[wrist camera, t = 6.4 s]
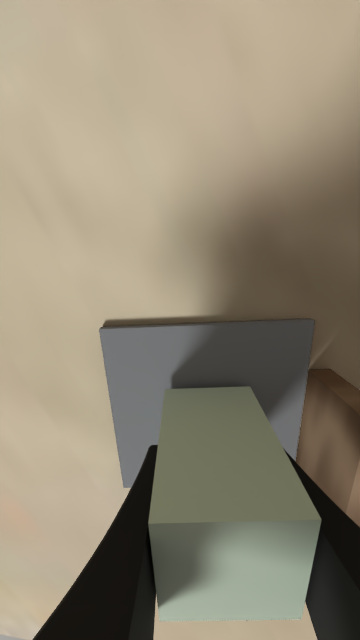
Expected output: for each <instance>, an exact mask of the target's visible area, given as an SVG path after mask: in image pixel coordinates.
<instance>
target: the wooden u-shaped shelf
mask: <svg viewBox="0 0 360 640" xmlns="http://www.w3.org/2000/svg"><path fill="white" fill-rule="evenodd" d="M296 463H297V464H298V465H299V466H300V467H301V468H302V469H303V470H304V472H305V473H306V474H307V475H308V476H309V477H310V478H311V479H312V480H313V481H314V482H315V483H316V484H317V485H318V486H319V487H320V488H321V489H322V491H323V492H324V493H325V494H326V495H327V496H328V497H329V498H330V499H331V500H332V501H333V502H334V503H335V504H336V505H337V506H338V507H339V508H340V509H341V510H342V511H343V512H344V513H345V514H347V515H348V516H349V517H350V518H351V519H352V520H353V521H354V522H355V523H356V524H357V525H358V526H359V527H360V391H359V390H358V389H356V388H355V387H354V386H352V385H351V384H350V383H348V382H347V381H346V380H344V379H343V378H342V377H340V376H339V375H338V374H336V373H335V372H334V371H332V370H331V369H317V370H309V372H308V379H307V386H306V393H305V400H304V407H303V414H302V421H301V428H300V436H299V443H298V450H297V457H296Z"/></svg>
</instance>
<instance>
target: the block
mask: <svg viewBox="0 0 360 640" xmlns="http://www.w3.org/2000/svg"><path fill="white" fill-rule="evenodd" d="M320 525H321V518H320V516H319V514H318V512H317V510H316V508H315V507H314V505H313V503H312V501H311V499H310V497H309V495H308V494H307V492H306V490H305V488H304V486H303V484H302V482H301V480H300V479H299V477H298V475H297V473H296V471H295V469H294V467H293V466H292V464H291V462H290V460H289V458H288V456H287V454H286V453H285V451H284V449H283V447H282V445H281V443H280V441H279V440H278V438H277V436H276V434H275V432H274V430H273V428H272V426H271V425H270V423H269V421H268V419H267V417H266V415H265V413H264V412H263V410H262V408H261V406H260V404H259V402H258V400H257V399H256V397H255V395H254V393H253V391H252V389H251V387H250V386H246V387H216V388H185V389H165V392H164V400H163V409H162V417H161V425H160V433H159V441H158V449H157V457H156V465H155V473H154V481H153V489H152V497H151V506H150V514H149V522H148V526H149V534H150V543H151V551H152V560H153V568H154V577H155V585H156V594H157V602H158V611H159V619H160V621H224V620H290V619H302V614H303V609H304V604H305V599H306V594H307V589H308V584H309V579H310V574H311V569H312V564H313V560H314V555H315V550H316V545H317V540H318V535H319V530H320Z"/></svg>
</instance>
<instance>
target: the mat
mask: <svg viewBox="0 0 360 640" xmlns="http://www.w3.org/2000/svg"><path fill="white" fill-rule="evenodd" d="M314 324H315V321H314V320H312V319H292V320H266V321H239V322H213V323H187V324H161V325H135V326H109V327H101V328H100V329H99V332H100V338H101V345H102V351H103V358H104V364H105V371H106V377H107V384H108V390H109V397H110V403H111V409H112V416H113V422H114V429H115V435H116V442H117V448H118V455H119V461H120V468H121V474H122V480H123V487H124V488H130V487H132V485H133V483H134V481H135V479H136V477H137V475H138V473H139V471H140V468H141V466H142V464H143V461H144V459H145V456H146V454H147V451H148V448H149V447H150V446H151V445H158V441H159V433H160V425H161V417H162V409H163V400H164V392H165V389H185V388H216V387H246V386H250V387H251V389H252V391H253V393H254V395H255V397H256V399H257V400H258V402H259V404H260V406H261V408H262V410H263V412H264V413H265V415H266V417H267V419H268V421H269V423H270V425H271V426H272V428H273V430H274V432H275V434H276V436H277V438H278V440H279V441H280V443H281V445H282V447H283V448H284V449H285V450H286V452H287V453H288V454H289V455H290V456H291V457H292V458H293V459H294V460H295V459H296V452H297V445H298V438H299V430H300V423H301V416H302V409H303V402H304V395H305V388H306V381H307V373H308V366H309V359H310V352H311V345H312V338H313V331H314Z"/></svg>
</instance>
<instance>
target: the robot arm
mask: <svg viewBox="0 0 360 640" xmlns="http://www.w3.org/2000/svg"><path fill="white" fill-rule="evenodd" d="M157 449H158V445H151V446H150V447H149V448H148V451H147V454H146V456H145V459H144V461H143V464H142V466H141V468H140V471H139V473H138V475H137V477H136V479H135V481H134V483H133V485H132V487H131V489H130V491H129V493H128V495H127V497H126V499H125V501H124V503H123V505H122V507H121V508H120V510H119V512H118V514H117V516H116V517H115V519H114V521H113V523H112V524H111V526H110V528H109V530H108V531H107V533H106V535H105V536H104V538H103V540H102V541H101V543H100V544H99V546H98V548H97V549H96V551H95V552H94V554H93V555H92V557H91V559H90V560H89V561H88V563H87V564H86V566H85V567H84V569H83V570H82V572H81V573H80V575H79V576H78V578H77V579H76V581H75V582H74V584H73V585H72V587H71V588H70V590H69V591H68V592H67V594H66V595H65V597H64V598H63V599H62V601H61V602H60V604H59V605H58V606H57V608H56V609H55V610H54V612H53V613H52V614H51V616H50V617H49V618H48V620H47V621H46V622H45V624H44V625H43V626H42V628H41V629H40V630H39V632H38V633H37V634H36V636H35V637H34V639H33V640H153V634H154V617H155V601H156V585H155V577H154V568H153V560H152V551H151V543H150V534H149V526H148V522H149V514H150V506H151V497H152V489H153V481H154V473H155V465H156V457H157ZM283 449H284V448H283ZM284 451H285V453H286V454H287V456H288V458H289V460H290V462H291V464H292V466H293V467H294V469H295V471H296V473H297V475H298V477H299V479H300V480H301V482H302V484H303V486H304V488H305V490H306V492H307V494H308V495H309V497H310V499H311V501H312V503H313V505H314V507H315V508H316V510H317V512H318V514H319V516H320V518H321V525H320V530H319V535H318V540H317V545H316V550H315V555H314V560H313V564H312V569H311V574H310V579H309V584H308V589H307V594H306V599H305V602H306V605H307V608H308V611H309V614H310V617H311V621H312V624H313V627H314V630H315V633H316V636H317V639H318V640H360V527H359V526H358V525H357V524H356V523H355V522H354V521H353V520H352V519H351V518H350V517H349V516H348V515H347V514H345V513H344V512H343V511H342V510H341V509H340V508H339V507H338V506H337V505H336V504H335V503H334V502H333V501H332V500H331V499H330V498H329V497H328V496H327V495H326V494H325V493H324V492H323V491H322V489H321V488H320V487H319V486H318V485H317V484H316V483H315V482H314V481H313V480H312V479H311V478H310V477H309V476H308V475H307V474H306V473H305V472H304V470H303V469H302V468H301V467H300V466H299V465H298V464H297V463H296V462H295V460H294V459H293V458H292V457H291V456H290V455H289V454H288V453H287V452H286V450H285V449H284Z"/></svg>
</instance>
